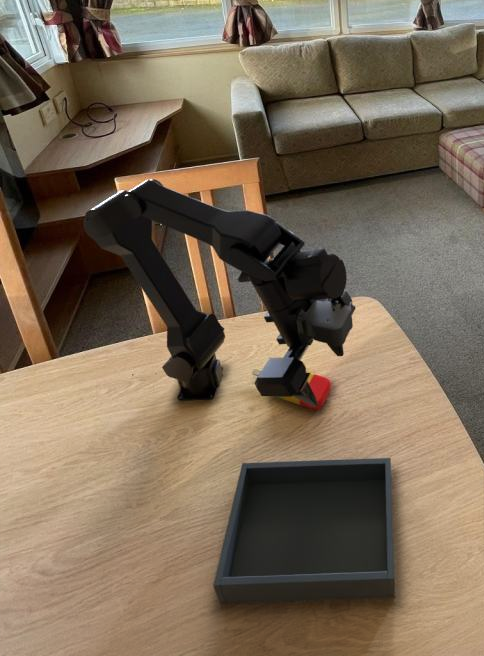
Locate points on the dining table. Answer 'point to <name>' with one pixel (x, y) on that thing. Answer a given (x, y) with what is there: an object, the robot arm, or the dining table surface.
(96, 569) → the dining table surface
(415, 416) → the dining table surface
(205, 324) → the robot arm
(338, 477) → the tub
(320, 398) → the popsicle
